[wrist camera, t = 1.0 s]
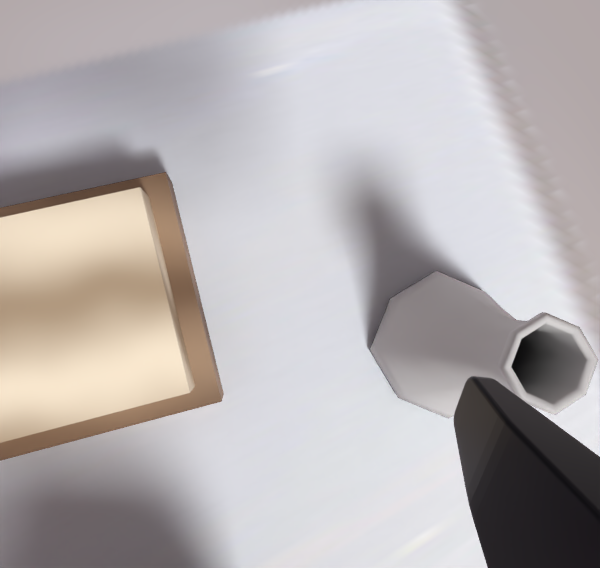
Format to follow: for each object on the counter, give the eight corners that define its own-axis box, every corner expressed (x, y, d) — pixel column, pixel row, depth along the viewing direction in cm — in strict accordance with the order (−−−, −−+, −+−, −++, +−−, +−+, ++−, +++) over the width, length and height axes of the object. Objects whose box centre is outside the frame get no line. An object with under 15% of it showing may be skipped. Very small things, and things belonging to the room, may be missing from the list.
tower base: (223, 394, 26) (218, 409, 22) (-3, 454, 25) (-51, 482, 21) (171, 182, 26) (157, 159, 22) (-54, 232, 25) (-112, 217, 21)
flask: (432, 247, 27) (537, 211, 17) (532, 336, 28) (692, 352, 18) (344, 351, 26) (401, 376, 17) (448, 441, 27) (565, 519, 17)
